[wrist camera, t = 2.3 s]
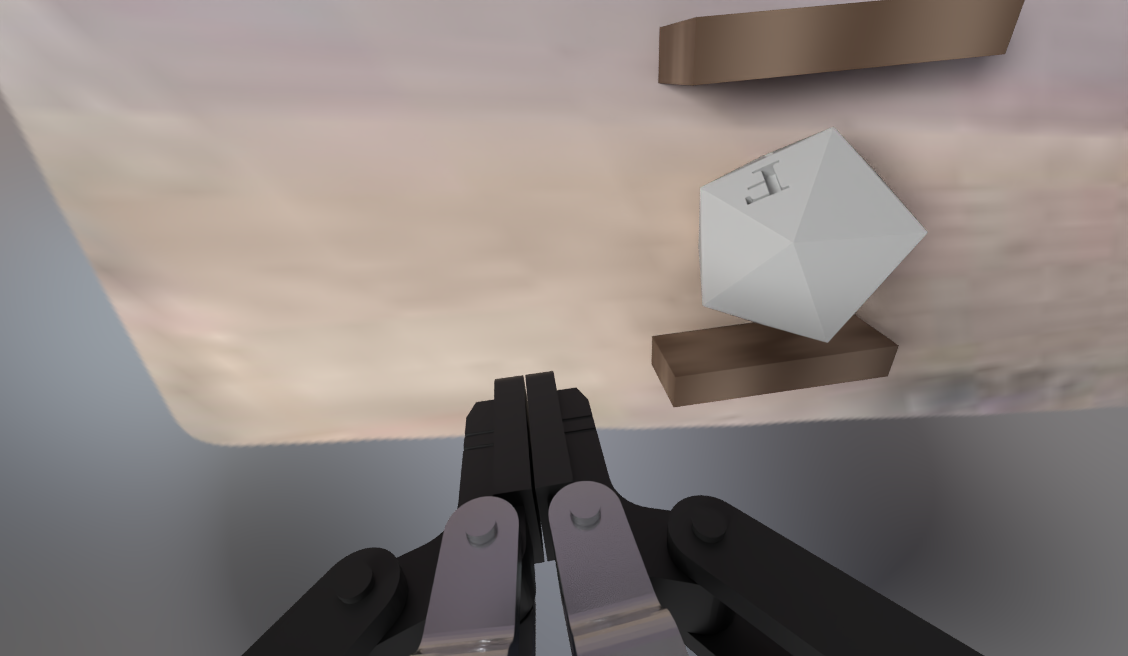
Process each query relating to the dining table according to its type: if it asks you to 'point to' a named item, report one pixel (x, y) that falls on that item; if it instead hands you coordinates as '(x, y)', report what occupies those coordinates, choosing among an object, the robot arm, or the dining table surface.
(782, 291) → the die
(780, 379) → the pair of wooden rails
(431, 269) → the dining table surface
